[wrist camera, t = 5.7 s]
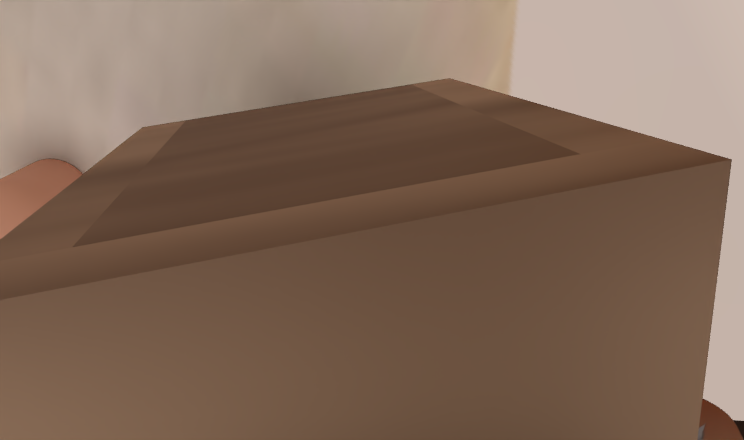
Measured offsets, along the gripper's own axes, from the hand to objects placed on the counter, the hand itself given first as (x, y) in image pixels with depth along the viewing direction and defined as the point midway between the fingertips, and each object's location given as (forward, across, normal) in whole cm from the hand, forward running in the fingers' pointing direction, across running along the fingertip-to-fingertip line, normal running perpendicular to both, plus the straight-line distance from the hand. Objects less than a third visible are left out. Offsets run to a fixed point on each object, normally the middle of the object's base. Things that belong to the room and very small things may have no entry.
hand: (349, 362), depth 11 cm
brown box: (+2, 0, 0) cm, 2 cm away
